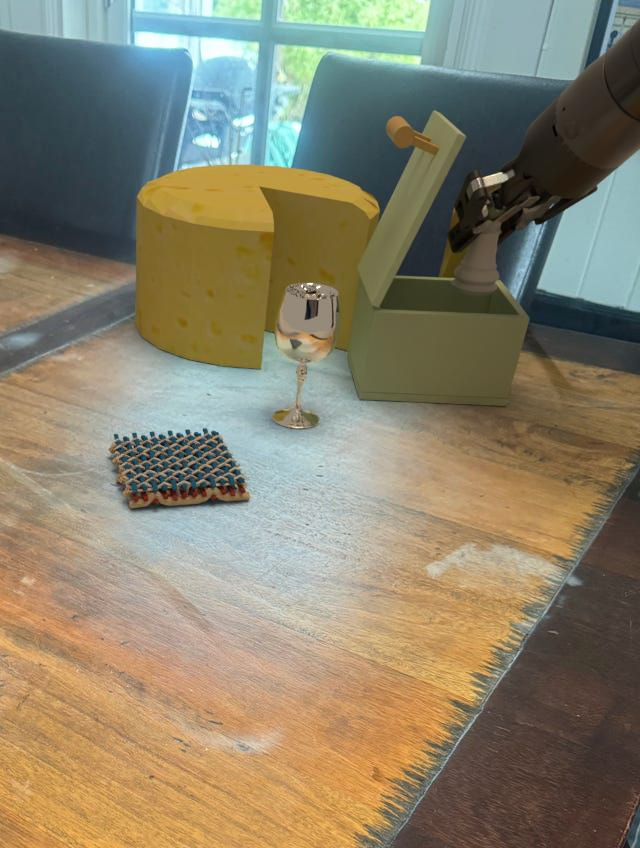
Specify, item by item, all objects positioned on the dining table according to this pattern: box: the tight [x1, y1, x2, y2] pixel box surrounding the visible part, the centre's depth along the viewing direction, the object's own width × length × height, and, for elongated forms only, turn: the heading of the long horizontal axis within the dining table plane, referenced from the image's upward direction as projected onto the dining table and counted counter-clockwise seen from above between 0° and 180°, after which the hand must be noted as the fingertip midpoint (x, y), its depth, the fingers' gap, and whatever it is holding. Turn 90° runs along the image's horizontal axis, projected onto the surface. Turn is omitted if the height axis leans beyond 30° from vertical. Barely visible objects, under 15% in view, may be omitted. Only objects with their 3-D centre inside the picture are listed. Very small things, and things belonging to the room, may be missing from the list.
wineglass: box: [272, 283, 340, 430], centre depth 86 cm, size 6×6×12 cm
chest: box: [346, 274, 530, 407], centre depth 96 cm, size 15×12×9 cm
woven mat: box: [107, 427, 251, 509], centre depth 79 cm, size 10×11×2 cm
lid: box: [357, 109, 467, 307], centre depth 88 cm, size 15×12×5 cm
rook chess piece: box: [451, 205, 505, 296], centre depth 90 cm, size 4×4×8 cm
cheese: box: [134, 164, 381, 370], centre depth 105 cm, size 26×26×15 cm
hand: (469, 242), depth 92 cm, fingers closed on rook chess piece, 3 cm apart
